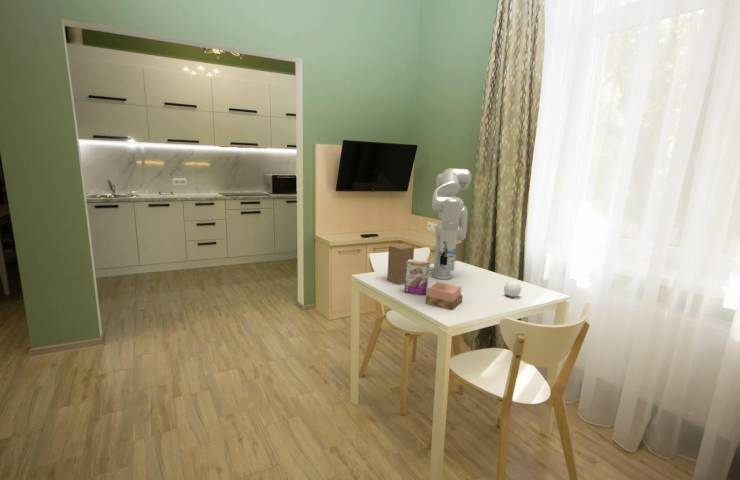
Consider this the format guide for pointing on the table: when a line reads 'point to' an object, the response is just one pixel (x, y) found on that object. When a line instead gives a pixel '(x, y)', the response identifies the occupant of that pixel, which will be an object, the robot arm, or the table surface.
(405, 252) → the wooden block
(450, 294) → the tower top
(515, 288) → the ball
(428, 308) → the table surface
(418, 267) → the candy bar box
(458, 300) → the tower bottom
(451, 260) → the medicine box
